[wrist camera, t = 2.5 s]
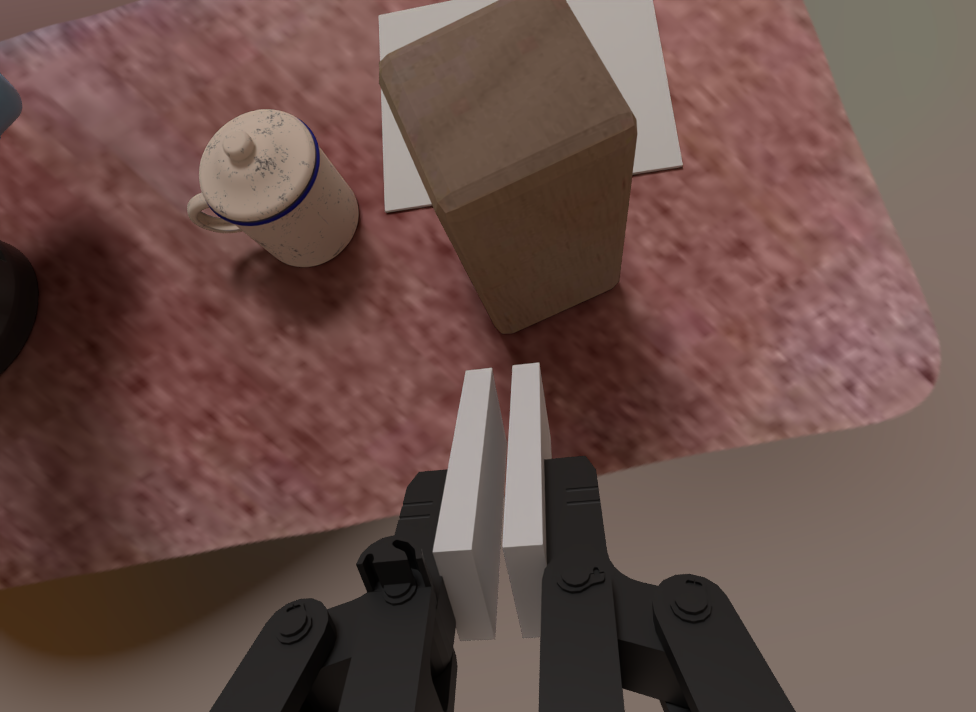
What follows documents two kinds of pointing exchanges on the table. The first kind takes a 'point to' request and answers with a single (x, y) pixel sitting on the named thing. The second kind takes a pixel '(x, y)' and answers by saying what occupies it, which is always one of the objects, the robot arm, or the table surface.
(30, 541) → the table surface
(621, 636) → the robot arm
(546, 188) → the block
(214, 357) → the table surface
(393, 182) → the mat
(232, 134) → the teacup with lid
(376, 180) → the table surface
